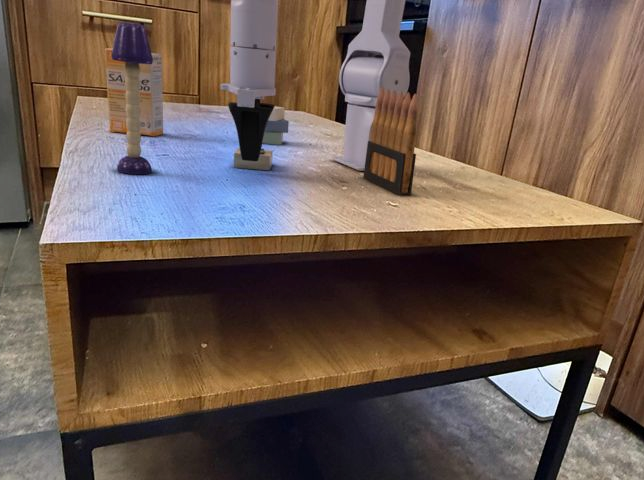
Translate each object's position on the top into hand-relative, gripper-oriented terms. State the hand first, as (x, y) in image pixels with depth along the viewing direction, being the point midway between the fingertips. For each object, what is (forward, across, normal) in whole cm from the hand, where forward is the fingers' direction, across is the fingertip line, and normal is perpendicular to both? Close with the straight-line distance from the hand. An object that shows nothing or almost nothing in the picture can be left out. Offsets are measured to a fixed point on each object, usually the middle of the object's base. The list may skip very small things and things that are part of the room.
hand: (250, 160), depth 81 cm
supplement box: (+2, -27, -23) cm, 36 cm away
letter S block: (+2, -5, 0) cm, 5 cm away
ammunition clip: (+2, +2, +19) cm, 19 cm away
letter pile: (+2, -30, 0) cm, 30 cm away
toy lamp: (+2, +6, -14) cm, 15 cm away
